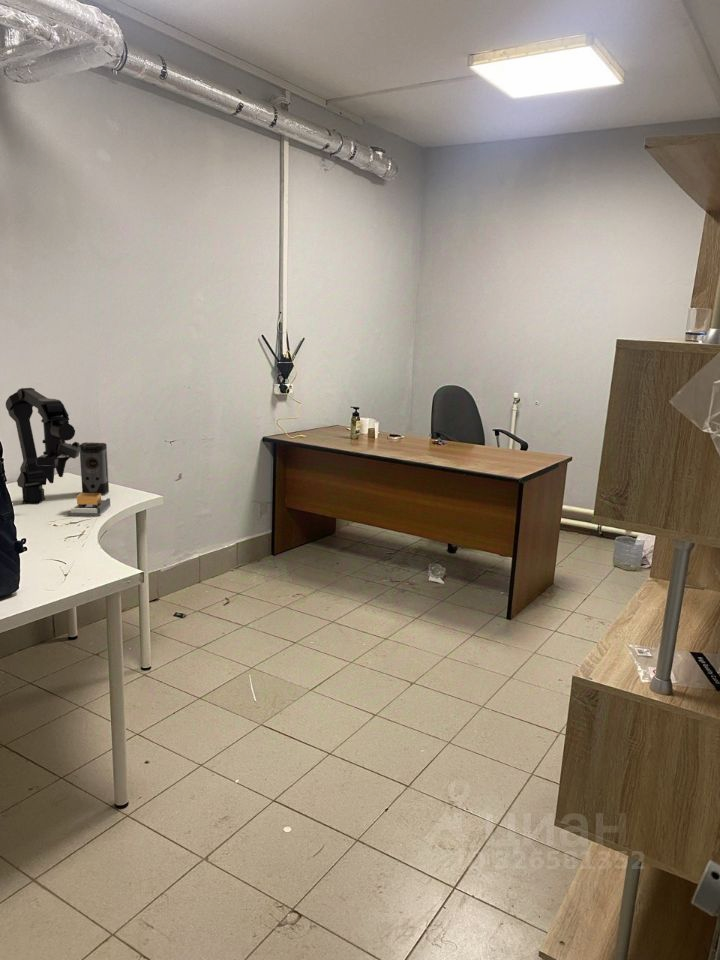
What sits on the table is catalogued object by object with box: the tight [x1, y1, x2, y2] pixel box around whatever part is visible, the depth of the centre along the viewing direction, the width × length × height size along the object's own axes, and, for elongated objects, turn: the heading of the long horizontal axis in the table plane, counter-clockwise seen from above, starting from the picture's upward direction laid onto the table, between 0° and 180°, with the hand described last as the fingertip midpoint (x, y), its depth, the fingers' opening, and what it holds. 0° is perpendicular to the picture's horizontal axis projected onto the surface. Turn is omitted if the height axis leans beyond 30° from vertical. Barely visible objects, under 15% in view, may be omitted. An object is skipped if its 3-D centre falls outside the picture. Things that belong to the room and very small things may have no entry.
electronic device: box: [79, 442, 110, 496], centre depth 269 cm, size 9×6×20 cm, turn 92°
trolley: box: [76, 492, 102, 508], centre depth 248 cm, size 7×5×5 cm
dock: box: [67, 498, 111, 517], centre depth 248 cm, size 11×13×3 cm
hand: (56, 480), depth 242 cm, fingers open, 9 cm apart
